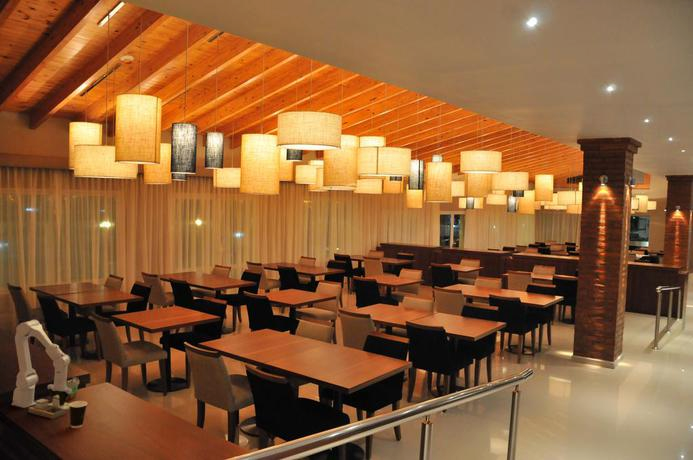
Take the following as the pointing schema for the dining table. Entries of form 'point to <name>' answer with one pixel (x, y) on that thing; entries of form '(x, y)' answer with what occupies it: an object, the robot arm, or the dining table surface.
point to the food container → (72, 387)
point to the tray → (64, 406)
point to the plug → (57, 402)
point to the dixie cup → (77, 413)
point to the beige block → (41, 404)
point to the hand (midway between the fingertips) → (58, 404)
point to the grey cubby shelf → (48, 411)
